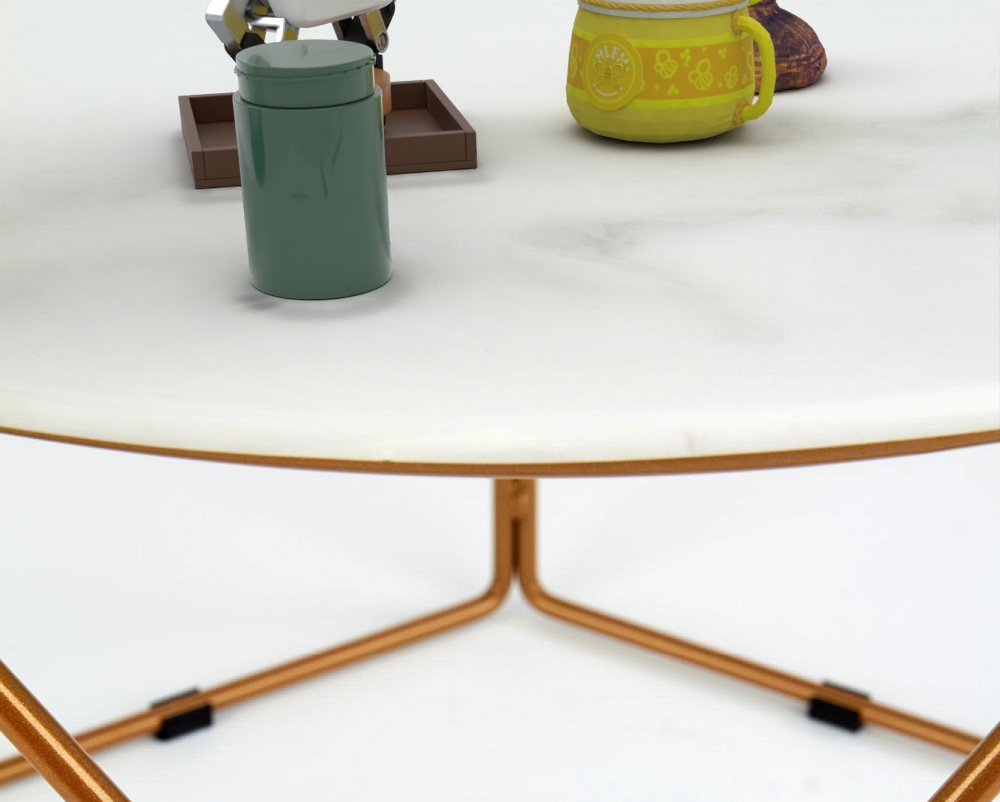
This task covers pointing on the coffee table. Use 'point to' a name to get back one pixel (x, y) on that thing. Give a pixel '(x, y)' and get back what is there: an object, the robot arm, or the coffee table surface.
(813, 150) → the coffee table surface
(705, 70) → the mug
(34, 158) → the coffee table surface
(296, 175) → the jar
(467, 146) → the tray
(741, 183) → the coffee table surface
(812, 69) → the dark brown rounded piece
